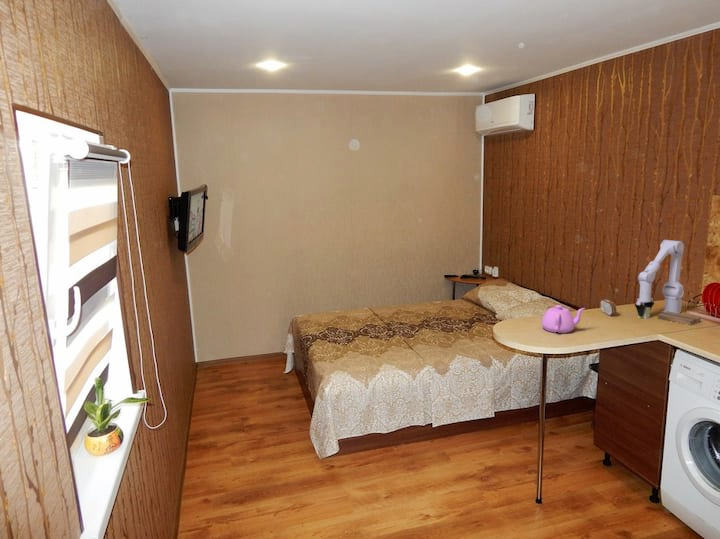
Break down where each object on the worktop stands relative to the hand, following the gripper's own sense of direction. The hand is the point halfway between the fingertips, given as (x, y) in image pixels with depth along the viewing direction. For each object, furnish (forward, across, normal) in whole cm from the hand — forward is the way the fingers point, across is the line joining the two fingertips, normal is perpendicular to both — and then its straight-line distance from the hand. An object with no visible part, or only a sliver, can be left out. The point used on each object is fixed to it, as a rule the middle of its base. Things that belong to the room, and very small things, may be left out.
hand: (643, 315), depth 276 cm
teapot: (+2, +56, -15) cm, 58 cm away
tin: (+2, +8, -17) cm, 19 cm away
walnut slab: (+2, -8, +15) cm, 17 cm away
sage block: (+2, 0, 0) cm, 2 cm away
